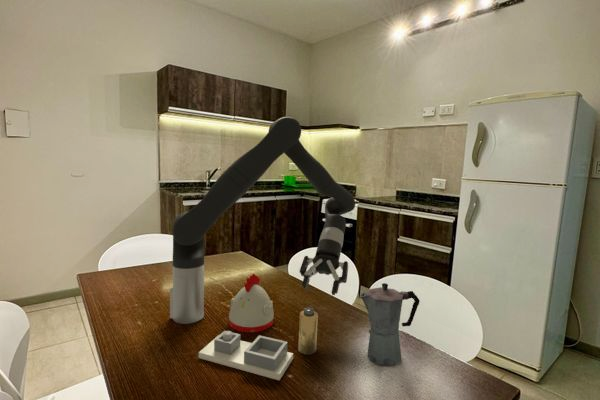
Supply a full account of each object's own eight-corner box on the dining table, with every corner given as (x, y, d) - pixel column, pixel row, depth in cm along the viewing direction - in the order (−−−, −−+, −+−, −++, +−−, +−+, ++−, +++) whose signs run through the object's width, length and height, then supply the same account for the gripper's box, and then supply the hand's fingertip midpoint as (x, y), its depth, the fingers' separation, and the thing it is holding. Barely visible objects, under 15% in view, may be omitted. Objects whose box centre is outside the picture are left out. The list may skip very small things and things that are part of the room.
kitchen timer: (219, 325, 98) (220, 278, 97) (243, 307, 111) (244, 265, 109) (260, 336, 93) (262, 286, 92) (280, 316, 106) (282, 271, 104)
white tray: (198, 357, 82) (198, 337, 81) (218, 340, 91) (219, 321, 90) (279, 380, 75) (280, 358, 74) (293, 358, 83) (293, 338, 83)
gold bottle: (295, 352, 86) (297, 311, 85) (301, 342, 91) (303, 304, 90) (313, 356, 85) (315, 315, 84) (318, 346, 89) (320, 307, 88)
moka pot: (352, 346, 90) (356, 276, 88) (405, 346, 92) (411, 277, 89) (361, 368, 81) (366, 290, 78) (421, 367, 82) (428, 291, 80)
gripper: (307, 235, 104) (293, 282, 95) (351, 240, 99) (341, 290, 90) (311, 247, 110) (298, 292, 100) (353, 253, 105) (344, 301, 96)
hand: (318, 291), depth 95 cm, fingers open, 8 cm apart
